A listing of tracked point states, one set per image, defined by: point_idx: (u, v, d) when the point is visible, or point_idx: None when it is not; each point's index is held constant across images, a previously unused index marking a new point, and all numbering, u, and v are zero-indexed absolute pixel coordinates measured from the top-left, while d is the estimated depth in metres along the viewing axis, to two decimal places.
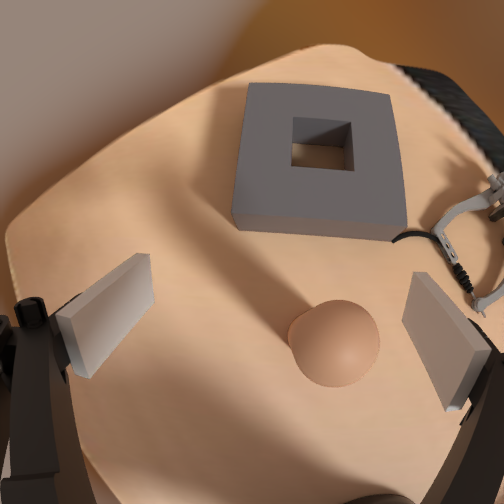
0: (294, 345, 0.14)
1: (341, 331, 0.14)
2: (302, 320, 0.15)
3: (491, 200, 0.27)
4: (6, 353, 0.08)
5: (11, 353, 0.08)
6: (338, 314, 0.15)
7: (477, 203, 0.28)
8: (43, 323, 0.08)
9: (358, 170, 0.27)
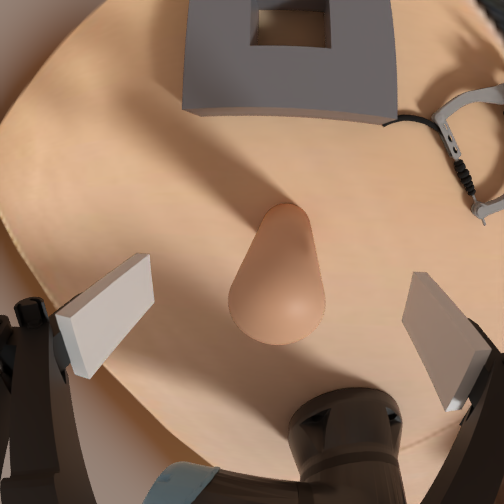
0: (230, 304, 0.14)
1: (280, 291, 0.13)
2: (235, 280, 0.14)
3: None
4: (6, 353, 0.08)
5: (11, 353, 0.08)
6: (276, 274, 0.13)
7: (491, 96, 0.19)
8: (43, 323, 0.08)
9: (336, 47, 0.18)
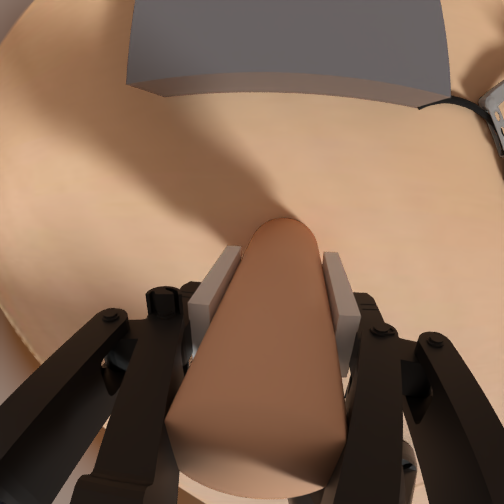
0: None
1: (259, 448, 0.05)
2: (166, 422, 0.06)
3: None
4: (126, 349, 0.09)
5: (134, 348, 0.09)
6: (249, 425, 0.05)
7: None
8: (176, 315, 0.10)
9: None
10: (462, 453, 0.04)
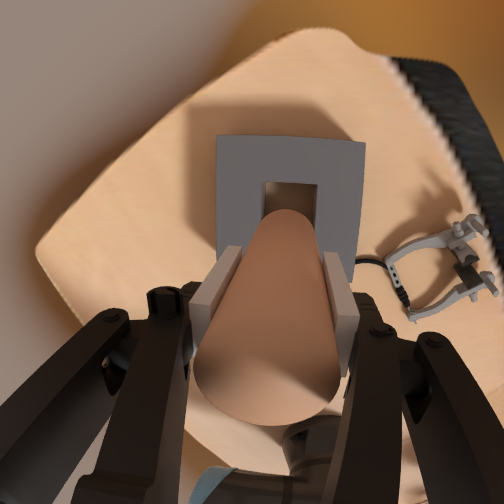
0: (196, 375, 0.09)
1: (271, 364, 0.08)
2: (202, 345, 0.08)
3: (448, 244, 0.33)
4: (126, 349, 0.09)
5: (135, 348, 0.09)
6: (265, 340, 0.08)
7: (434, 243, 0.34)
8: (177, 315, 0.10)
9: (317, 237, 0.34)
10: (461, 453, 0.04)
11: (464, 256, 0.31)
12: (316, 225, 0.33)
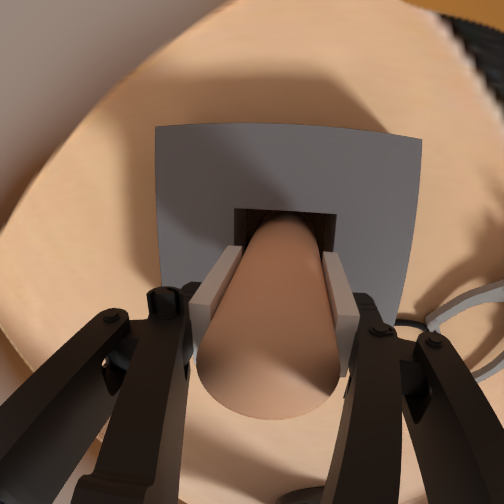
0: (199, 370, 0.09)
1: (272, 358, 0.08)
2: (204, 339, 0.09)
3: None
4: (127, 349, 0.09)
5: (135, 348, 0.09)
6: (266, 333, 0.08)
7: (497, 296, 0.20)
8: (177, 315, 0.10)
9: None
10: (461, 453, 0.04)
11: None
12: None
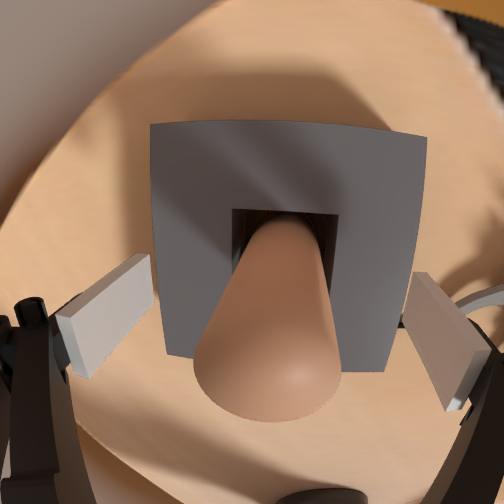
0: (196, 371, 0.09)
1: (271, 359, 0.08)
2: (202, 341, 0.08)
3: None
4: (6, 353, 0.08)
5: (11, 353, 0.08)
6: (265, 335, 0.08)
7: (502, 299, 0.19)
8: (43, 323, 0.08)
9: (333, 308, 0.18)
10: None
11: None
12: (333, 288, 0.18)
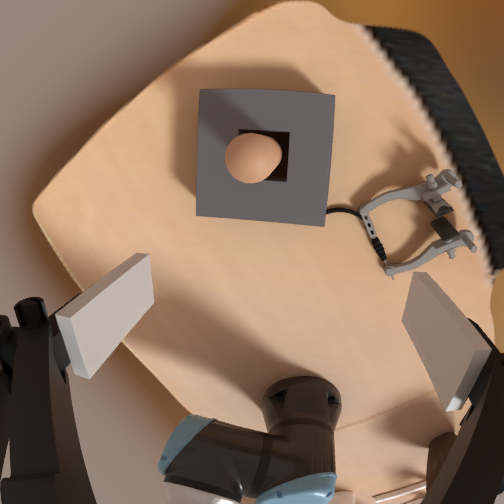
0: (225, 159, 0.26)
1: (252, 150, 0.25)
2: (229, 145, 0.25)
3: (422, 196, 0.35)
4: (6, 353, 0.08)
5: (11, 353, 0.08)
6: (249, 141, 0.25)
7: (408, 195, 0.36)
8: (43, 323, 0.08)
9: (289, 181, 0.35)
10: None
11: (438, 207, 0.33)
12: (288, 169, 0.35)
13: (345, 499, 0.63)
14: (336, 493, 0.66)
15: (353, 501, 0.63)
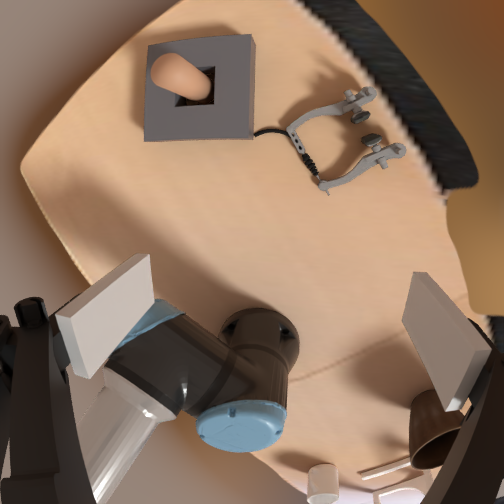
0: (151, 73, 0.30)
1: (168, 64, 0.29)
2: (153, 63, 0.29)
3: (343, 110, 0.39)
4: (6, 353, 0.08)
5: (11, 353, 0.08)
6: (167, 58, 0.29)
7: (330, 111, 0.40)
8: (43, 323, 0.08)
9: (216, 103, 0.39)
10: None
11: (356, 114, 0.37)
12: (215, 94, 0.39)
13: (326, 472, 0.64)
14: (316, 466, 0.68)
15: (335, 476, 0.64)
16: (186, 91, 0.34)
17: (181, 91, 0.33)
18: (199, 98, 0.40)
